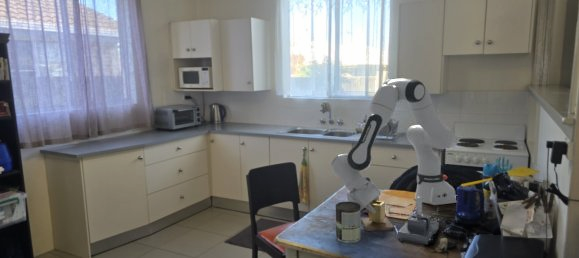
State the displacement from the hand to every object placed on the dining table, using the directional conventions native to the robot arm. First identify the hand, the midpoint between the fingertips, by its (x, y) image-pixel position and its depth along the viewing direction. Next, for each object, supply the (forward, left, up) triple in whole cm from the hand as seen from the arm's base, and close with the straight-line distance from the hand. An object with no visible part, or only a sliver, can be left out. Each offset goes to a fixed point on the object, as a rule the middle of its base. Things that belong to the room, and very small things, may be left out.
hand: (378, 210), depth 182 cm
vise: (-14, +11, -7) cm, 19 cm away
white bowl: (+2, -26, -7) cm, 27 cm away
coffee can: (+16, +12, -7) cm, 21 cm away
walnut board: (+1, 0, -7) cm, 7 cm away
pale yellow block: (+1, 0, -5) cm, 5 cm away
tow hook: (-2, -12, -7) cm, 15 cm away
